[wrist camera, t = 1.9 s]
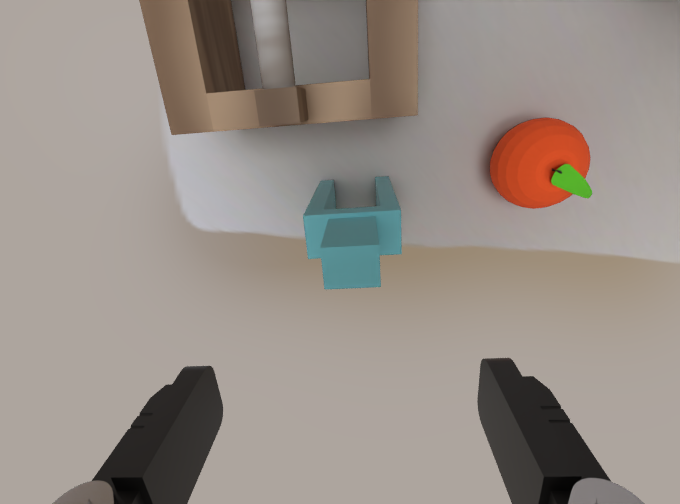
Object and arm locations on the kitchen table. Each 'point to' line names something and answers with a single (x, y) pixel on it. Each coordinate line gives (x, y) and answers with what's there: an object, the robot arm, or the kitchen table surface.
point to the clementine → (541, 163)
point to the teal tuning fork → (352, 235)
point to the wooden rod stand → (273, 67)
